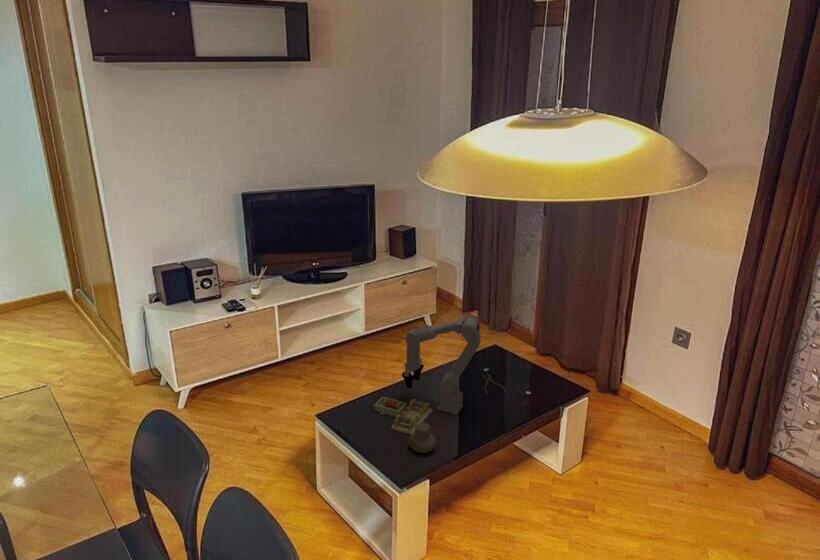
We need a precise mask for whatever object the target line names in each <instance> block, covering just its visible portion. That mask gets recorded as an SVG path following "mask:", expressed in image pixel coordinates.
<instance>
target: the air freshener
mask: <svg viewBox="0 0 820 560" xmlns="http://www.w3.org/2000/svg"><path fill="white" fill-rule="evenodd" d="M408 443H409V446H410V448H411V449H412V450H413V451H415V452H417V453H421V454H423V453H428V452H431V451H433V450H434V448H436V446H437V440H436V438H435V436H434V434H432V433H431V425H430V424H428V423H426V422H423V423H418V424H417V425H416V426H415V433H413V434H412V435H410V436H409V438H408Z"/></svg>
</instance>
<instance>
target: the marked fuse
mask: <svg viewBox="0 0 820 560" xmlns="http://www.w3.org/2000/svg"><path fill="white" fill-rule="evenodd" d="M383 405H385V406H390V407H394V408H396V409H400V407H401V403H400V402H395V401H391V400H388V399H384V401H383Z"/></svg>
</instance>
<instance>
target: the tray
mask: <svg viewBox="0 0 820 560" xmlns="http://www.w3.org/2000/svg"><path fill="white" fill-rule="evenodd" d="M384 399H388V400H391V401H395V402H400V403H401V407H400V409H396V408H394V407H390V406H385V405H383V401H384ZM406 407H408V403H407V402H405V401H402V400H398V399H393V398H389V397H387V396H383V395H382V396H381V398H379V399H378V400H377V401H376V402H375V403H374V405H373V412H375V413H380V414H382V415H386V416H391V417H395V418H396V416H397V415H398V414H399V415H402V412H405V411H406Z"/></svg>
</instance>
